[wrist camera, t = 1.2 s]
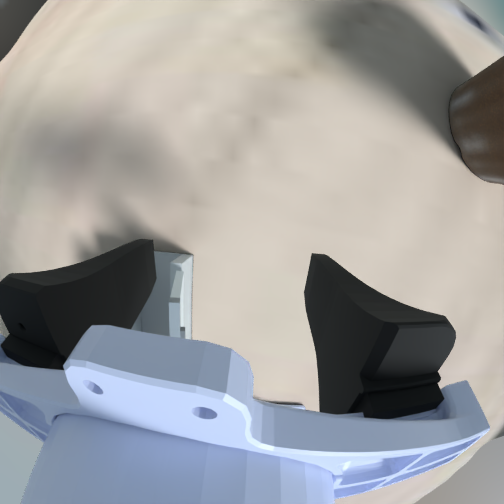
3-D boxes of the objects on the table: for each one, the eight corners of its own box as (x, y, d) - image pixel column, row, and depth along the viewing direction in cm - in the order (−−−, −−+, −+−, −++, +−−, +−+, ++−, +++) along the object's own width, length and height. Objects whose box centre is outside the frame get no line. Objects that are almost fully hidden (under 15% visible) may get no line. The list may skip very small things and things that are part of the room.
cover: (180, 394, 24) (189, 394, 24) (179, 443, 17) (191, 443, 17) (176, 270, 21) (187, 271, 21) (168, 302, 15) (185, 303, 15)
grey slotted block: (192, 376, 28) (184, 395, 24) (130, 362, 28) (118, 378, 24) (193, 254, 25) (181, 263, 21) (121, 247, 25) (103, 253, 22)
